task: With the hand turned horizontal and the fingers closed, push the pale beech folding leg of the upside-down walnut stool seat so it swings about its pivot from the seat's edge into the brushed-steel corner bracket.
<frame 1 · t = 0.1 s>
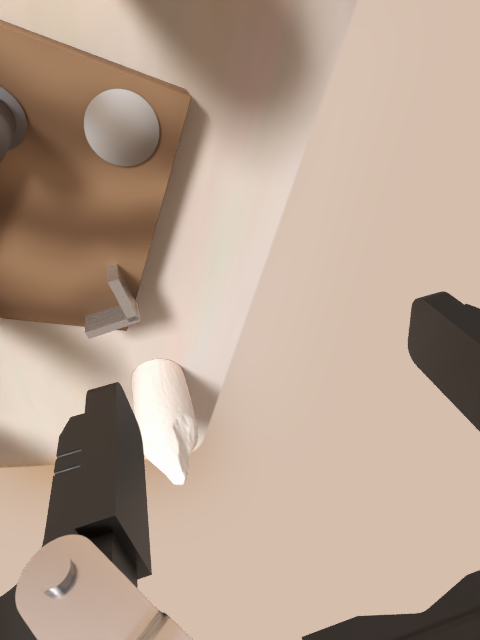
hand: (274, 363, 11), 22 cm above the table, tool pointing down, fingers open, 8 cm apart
white pointed cylinder: (158, 376, 43), on the table
stool seat: (9, 190, 27), on the table
corner bracket: (90, 272, 33), resting on stool seat
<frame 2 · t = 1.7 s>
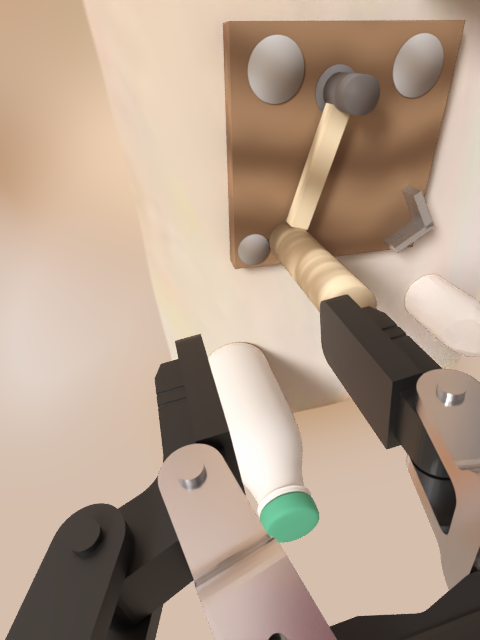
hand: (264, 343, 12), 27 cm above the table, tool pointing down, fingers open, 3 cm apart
milk bottle: (233, 365, 48), on the table
white pointed cylinder: (424, 294, 49), on the table
stool seat: (329, 152, 37), on the table
corner bracket: (378, 205, 41), resting on stool seat
hinged leg: (343, 195, 30), point 9 cm above the table, hinge at 0.0°
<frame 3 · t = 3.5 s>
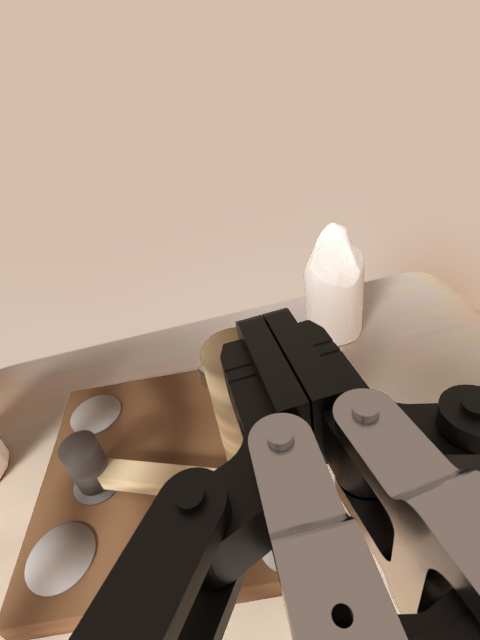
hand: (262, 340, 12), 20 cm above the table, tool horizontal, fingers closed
white pointed cylinder: (333, 331, 44), on the table
stool seat: (172, 475, 32), on the table
hinged leg: (155, 428, 25), point 9 cm above the table, hinge at 0.0°
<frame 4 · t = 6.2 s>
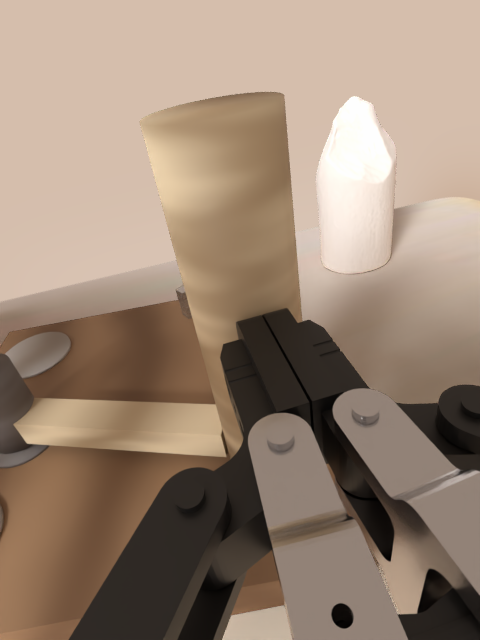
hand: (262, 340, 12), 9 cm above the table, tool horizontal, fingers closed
white pointed cylinder: (354, 259, 34), on the table
stool seat: (136, 430, 22), on the table
hinged leg: (88, 325, 15), point 9 cm above the table, hinge at 0.0°, touching gripper
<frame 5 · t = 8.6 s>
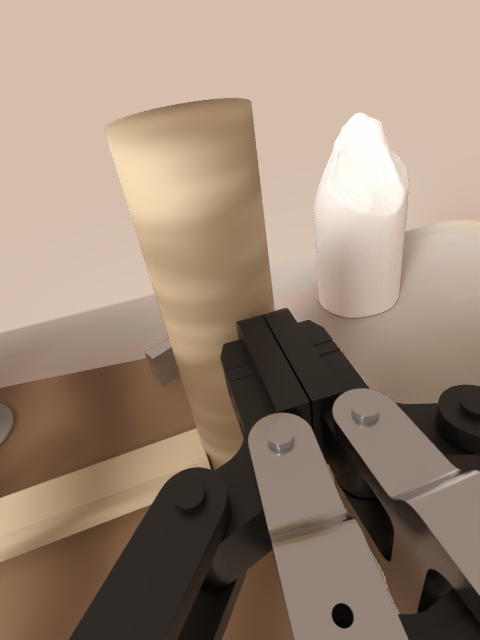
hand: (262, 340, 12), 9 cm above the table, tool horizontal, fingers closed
white pointed cylinder: (356, 297, 30), on the table
stool seat: (91, 549, 17), on the table
corner bracket: (207, 416, 22), resting on stool seat
hinged leg: (34, 390, 12), point 9 cm above the table, hinge at 27.2°, touching gripper
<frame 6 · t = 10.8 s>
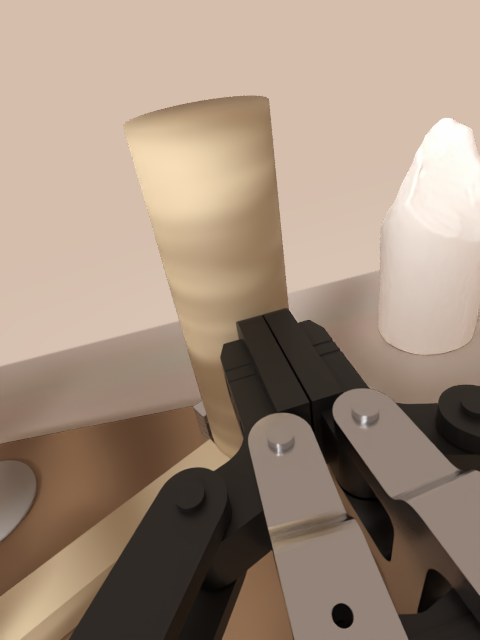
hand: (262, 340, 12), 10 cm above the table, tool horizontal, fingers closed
white pointed cylinder: (422, 328, 26), on the table
corner bracket: (265, 481, 19), resting on stool seat
hinged leg: (62, 435, 11), point 9 cm above the table, hinge at 49.7°, touching gripper
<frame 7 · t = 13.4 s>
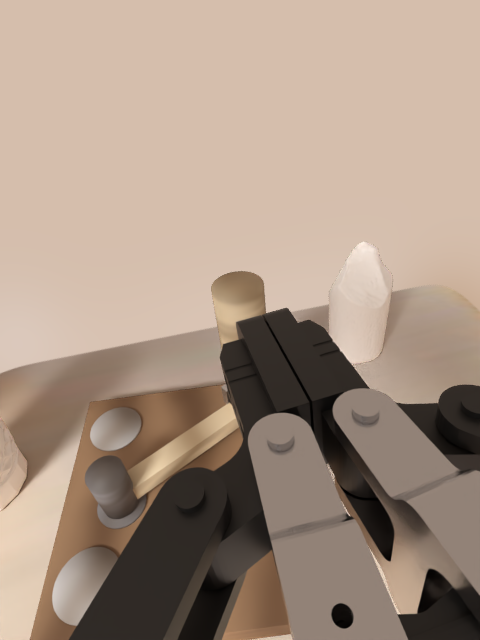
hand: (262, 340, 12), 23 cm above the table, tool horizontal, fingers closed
white pointed cylinder: (354, 346, 44), on the table
stool seat: (194, 496, 32), on the table
hinged leg: (178, 397, 29), point 9 cm above the table, hinge at 49.8°
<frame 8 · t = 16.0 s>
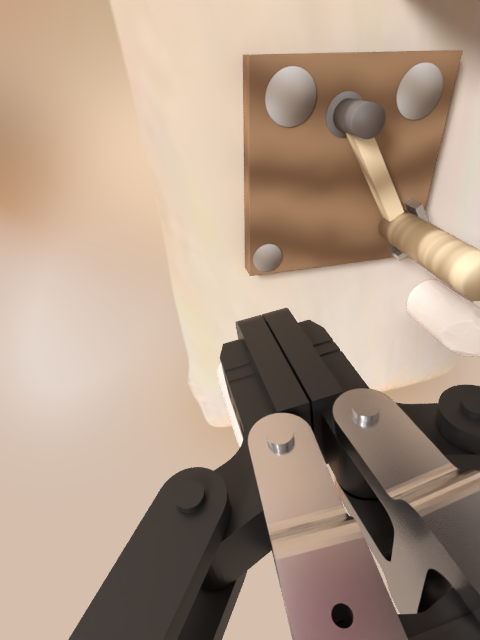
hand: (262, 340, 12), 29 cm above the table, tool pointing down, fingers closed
milk bottle: (245, 365, 51), on the table
white pointed cylinder: (425, 298, 53), on the table
stool seat: (337, 168, 40), on the table
corner bracket: (382, 216, 44), resting on stool seat
hinged leg: (413, 196, 34), point 9 cm above the table, hinge at 49.8°
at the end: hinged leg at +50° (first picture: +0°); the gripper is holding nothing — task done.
